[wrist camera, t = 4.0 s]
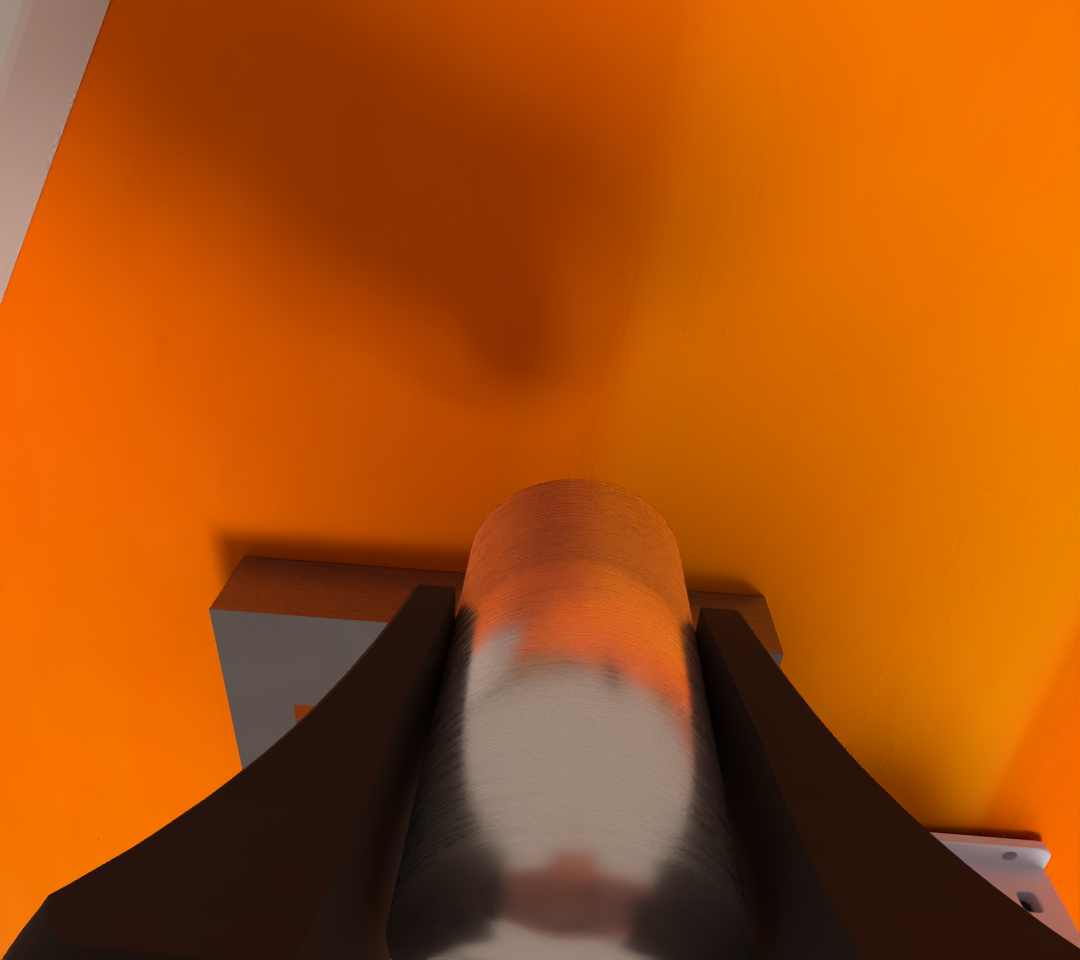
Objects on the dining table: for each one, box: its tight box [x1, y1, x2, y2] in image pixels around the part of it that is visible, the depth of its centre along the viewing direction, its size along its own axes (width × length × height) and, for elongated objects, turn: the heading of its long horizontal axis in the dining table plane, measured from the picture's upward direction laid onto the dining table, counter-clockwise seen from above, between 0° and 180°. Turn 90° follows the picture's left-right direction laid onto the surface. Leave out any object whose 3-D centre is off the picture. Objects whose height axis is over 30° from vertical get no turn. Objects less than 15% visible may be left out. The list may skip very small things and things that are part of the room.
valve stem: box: [386, 479, 754, 960], centre depth 11 cm, size 4×4×7 cm
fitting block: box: [209, 557, 783, 769], centre depth 25 cm, size 16×12×2 cm
